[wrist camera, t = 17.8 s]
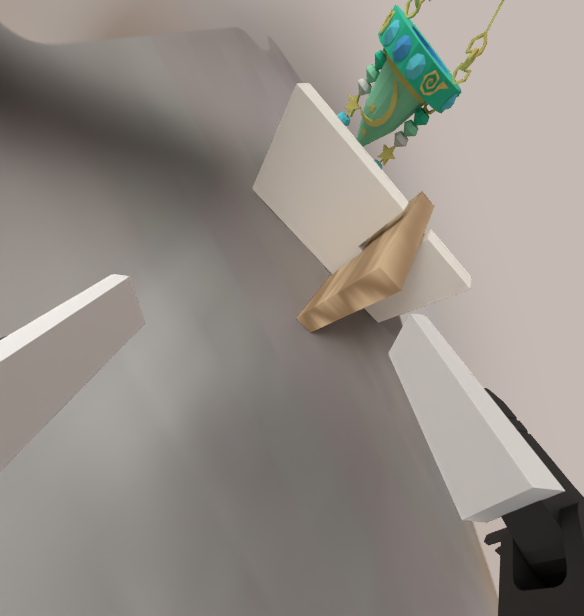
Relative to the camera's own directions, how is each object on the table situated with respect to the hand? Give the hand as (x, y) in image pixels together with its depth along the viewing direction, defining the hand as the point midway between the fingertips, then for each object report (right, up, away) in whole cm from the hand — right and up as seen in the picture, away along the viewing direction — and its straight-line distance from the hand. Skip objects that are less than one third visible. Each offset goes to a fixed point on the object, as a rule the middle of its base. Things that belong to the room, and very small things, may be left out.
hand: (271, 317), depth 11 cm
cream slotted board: (+5, +8, +21) cm, 23 cm away
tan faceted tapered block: (+7, +4, +20) cm, 21 cm away
